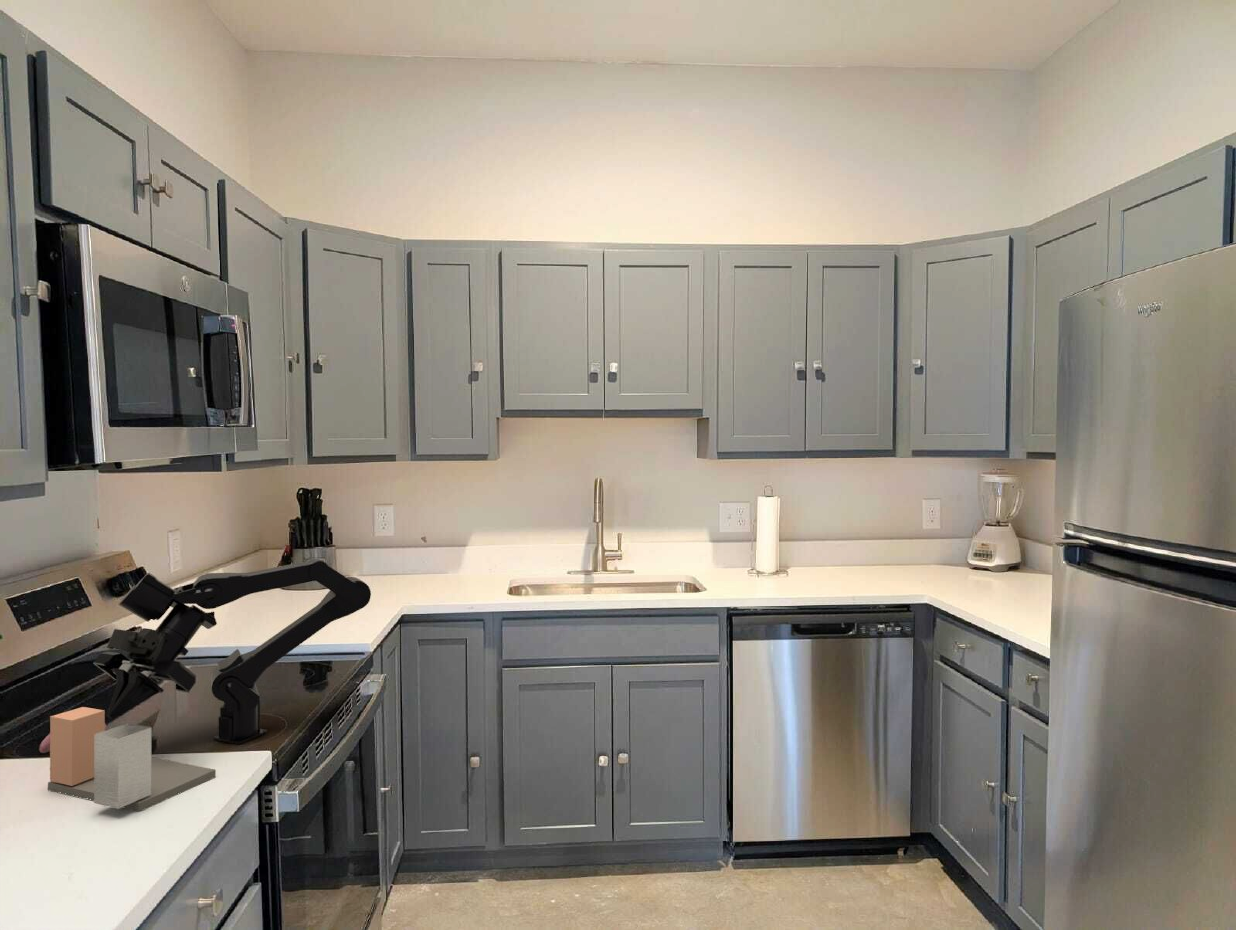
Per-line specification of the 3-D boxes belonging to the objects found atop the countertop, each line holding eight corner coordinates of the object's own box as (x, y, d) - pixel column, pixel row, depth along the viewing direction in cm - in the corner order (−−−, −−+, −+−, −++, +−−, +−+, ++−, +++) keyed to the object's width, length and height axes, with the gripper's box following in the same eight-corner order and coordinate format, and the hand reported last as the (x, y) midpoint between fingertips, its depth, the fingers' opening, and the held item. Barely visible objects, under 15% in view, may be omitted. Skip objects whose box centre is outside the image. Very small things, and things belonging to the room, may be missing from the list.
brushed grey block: (127, 789, 113) (127, 723, 113) (151, 794, 112) (151, 727, 112) (94, 803, 109) (94, 734, 109) (118, 808, 107) (118, 738, 107)
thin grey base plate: (128, 759, 128) (128, 752, 128) (215, 776, 121) (215, 769, 121) (47, 790, 116) (47, 782, 116) (139, 811, 109) (139, 803, 109)
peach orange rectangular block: (82, 768, 121) (83, 706, 121) (104, 773, 119) (104, 710, 119) (50, 780, 116) (50, 716, 116) (71, 785, 114) (72, 720, 114)
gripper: (104, 605, 131) (35, 685, 121) (180, 613, 124) (113, 699, 114) (147, 640, 138) (85, 719, 128) (221, 650, 131) (161, 734, 121)
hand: (109, 717), depth 123 cm, fingers closed
